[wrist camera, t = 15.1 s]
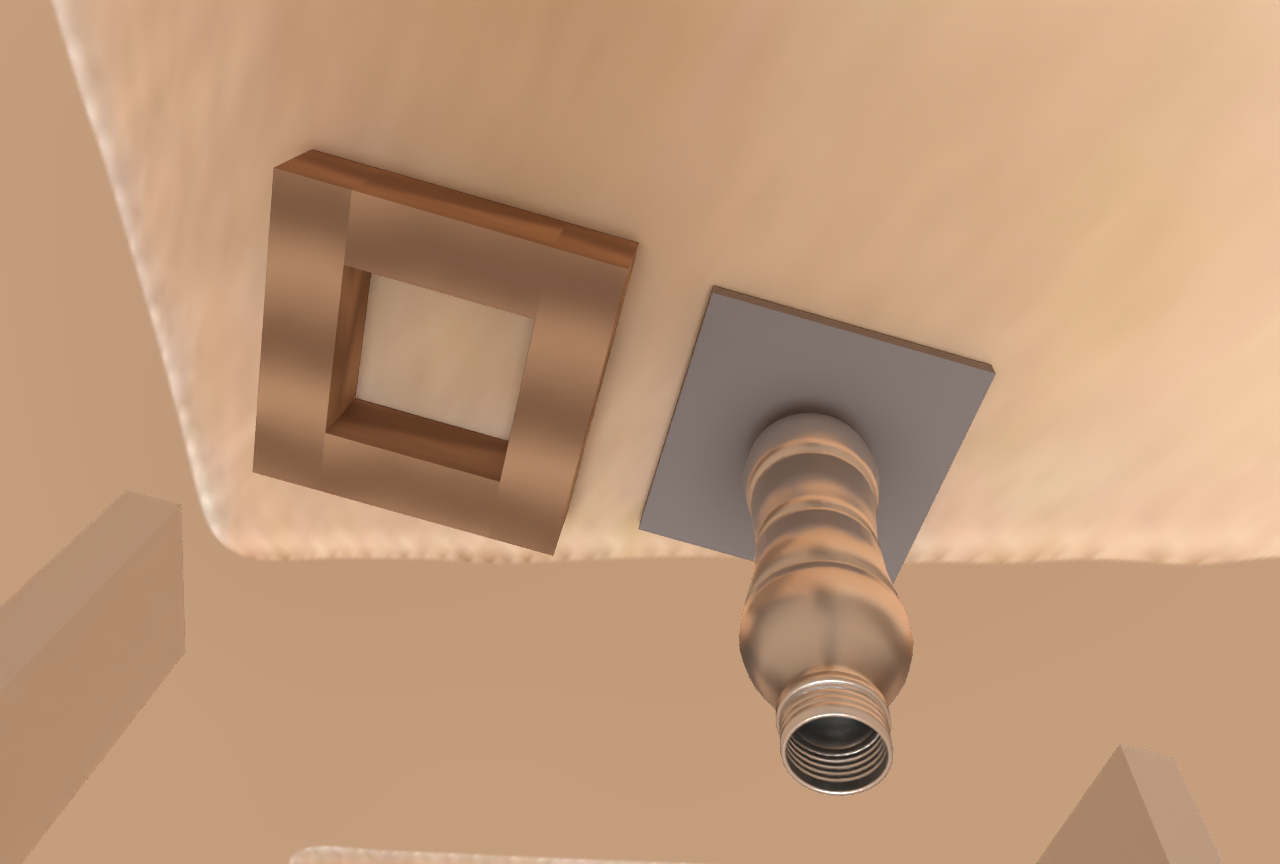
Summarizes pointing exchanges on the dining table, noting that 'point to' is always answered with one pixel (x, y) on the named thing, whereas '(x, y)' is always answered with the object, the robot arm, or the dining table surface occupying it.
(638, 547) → the dining table surface
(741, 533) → the charcoal mat
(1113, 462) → the dining table surface
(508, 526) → the walnut block
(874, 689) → the plastic bottle
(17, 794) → the robot arm
